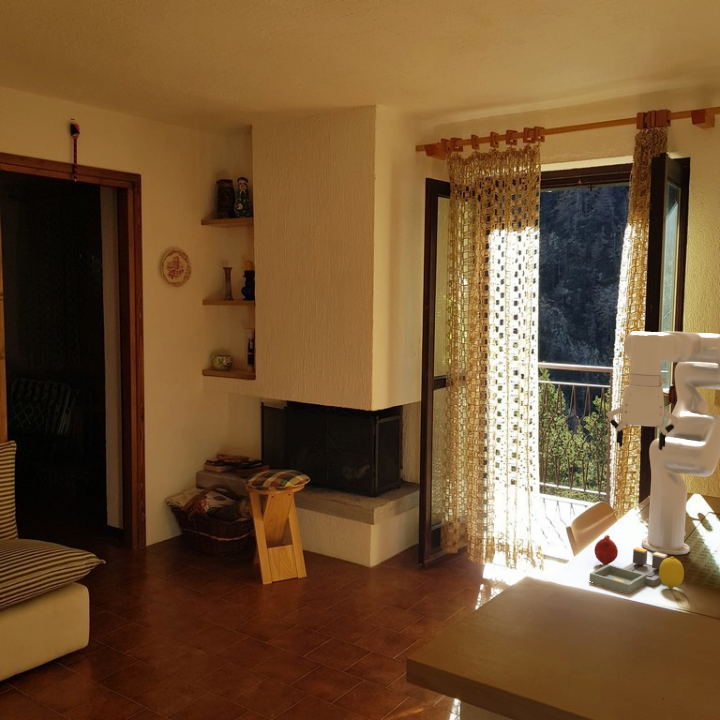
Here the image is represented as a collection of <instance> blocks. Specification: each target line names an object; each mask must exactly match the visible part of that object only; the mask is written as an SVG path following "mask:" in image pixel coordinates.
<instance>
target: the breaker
mask: <svg viewBox="0 0 720 720" xmlns="http://www.w3.org/2000/svg"><path fill="white" fill-rule="evenodd" d="M666 558H668V554H663V553H658V552H653V553H652V559H651V562H652V563H651V564H652V568H655V569H659V568H660V565H661V563H662V561H663V560H664V559H666Z"/></svg>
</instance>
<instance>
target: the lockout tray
mask: <svg viewBox="0 0 720 720" xmlns="http://www.w3.org/2000/svg"><path fill="white" fill-rule="evenodd" d="M623 568H624V567H619V566H616V565H612V564H610V563H609V564H608V565H603V566H602V567H600V568H598V569H596V570H594V571H592V572H590V573H589V581H591V582H593V583H595V584H594V585H597V584H599V585H598V586H600V585H601V587H603V588H607V589H610V590H613V591H617V592H622V593H624V594H629V595H630V594H631V593H632V591H633V592H634V591H636V590H637V588H638V589H639V588H641V587H643V586H644V585H646V584H645V579H646V575H645V574H641V573H638V572H634V571H631V570H627V569H623ZM589 581H588V582H589ZM593 583H592V584H593Z"/></svg>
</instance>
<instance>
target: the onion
mask: <svg viewBox="0 0 720 720" xmlns="http://www.w3.org/2000/svg"><path fill="white" fill-rule="evenodd" d="M618 554H619V550H618V547H617V544H616V543H615V542H614V541H613V540H612V539H611V538H610V535H609V534H606V535H605V536H604V537H603V538H601V539H600V540H598V542H597V543H596V544H595V546H594V556H595V558H596V559H597V560H598V561H599V563H601V564H602V565H603V566H606V565H608V564H609V565H610V564H611V563H613V562H614V561H616V559H617V557H618Z"/></svg>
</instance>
